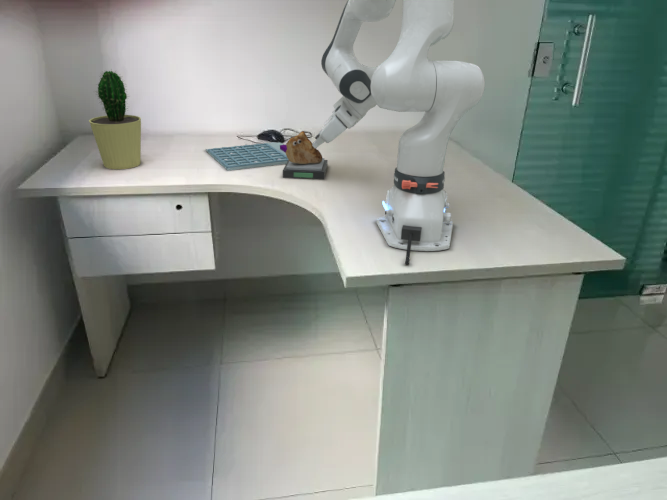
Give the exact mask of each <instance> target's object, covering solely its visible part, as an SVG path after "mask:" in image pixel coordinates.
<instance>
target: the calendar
mask: <svg viewBox="0 0 667 500" xmlns="http://www.w3.org/2000/svg"><path fill="white" fill-rule="evenodd" d="M286 150H287V146H286V144H284V143H283V142H280V141H278V142H275V141H271V142H264V143H254V144H244V145H234V146H222V147H213V148H205V151H206V152H207V153H208V154H209V155H210V156H211V157H212V158H213V159H214V160H215V161H216V162H217V163H219V164H220V165H221V166H222V168H224V169H225V170H226V171H235V170H245V169H252V168H253V169H254V168H262V167H269V166H270V167H271V166H277V165H278V166H279V165H286V163H287V161H288V160H289V159H288V158H287V156H286Z"/></svg>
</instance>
